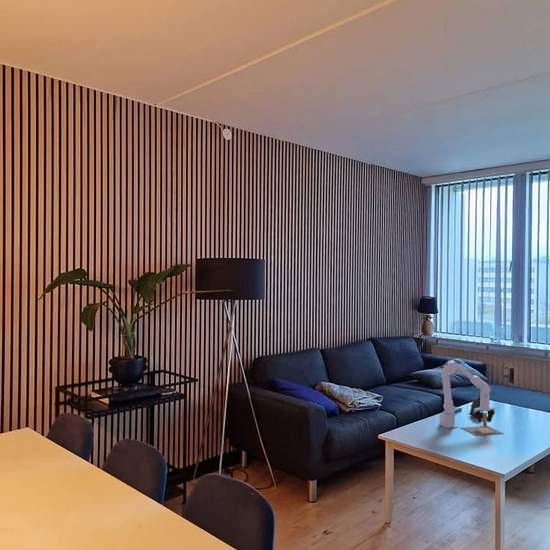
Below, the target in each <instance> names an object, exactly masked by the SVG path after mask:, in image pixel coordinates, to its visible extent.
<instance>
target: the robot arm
mask: <svg viewBox="0 0 550 550" xmlns="http://www.w3.org/2000/svg"><path fill="white" fill-rule="evenodd" d="M455 372H458V373H462V374H463V375H464V376H466V377H467V378H468V379H469V380H470V383H472V384H473V385H474V386H475V387H476V388H477V389H479V391H480V394H479V395H480V407H479V408H474V411H475V413H476V415H477V418H476V419H477V422H478V423H482V418H481V417H482V411H483V412H486V413H487V416H488V421H487V422H489V423H491V422H492V420H493V417H494V415H495V413H496V407H495V406H494V407H493V406H490V392H491V391H492V389H491V387H490V385H489V384H488V383H487V382H486V381H485V380H483V379H481V377H480V376H479V375H473V374H472V373H471V372H469V371H468V370H467V369H466V368H465V367H464V366H462V365H461V364H460V363H457V362H455V360H452V359H450V360H448V361H447V362H445V364H444V366H443V369H442V370H441V372H440V373H441V381H442V391H443V397H444V399H443V400H444V401H443V402H444V403H443V405H442V407H443V409H444V410H443V412H442V413H439V423H438V425H439V426H440V427H443V428H447V429H448V428H449V429H450V428H458V425H456V424H455V423H456V422H455V421H456V412H455V411H456V407H455V405H454V401H453V397H452V390H451V389H452V388H451V381H450V380H451V379H450V376H451V375H452V374H453V373H455Z"/></svg>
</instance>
